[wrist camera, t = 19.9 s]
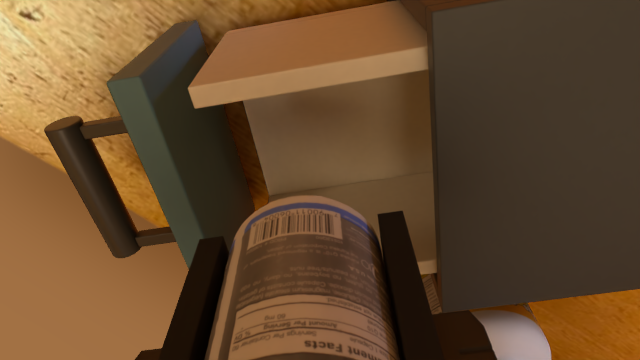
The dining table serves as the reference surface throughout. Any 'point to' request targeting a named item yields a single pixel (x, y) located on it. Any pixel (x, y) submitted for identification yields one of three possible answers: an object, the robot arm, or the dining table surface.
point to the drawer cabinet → (533, 148)
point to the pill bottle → (304, 287)
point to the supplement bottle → (504, 328)
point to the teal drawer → (268, 127)
